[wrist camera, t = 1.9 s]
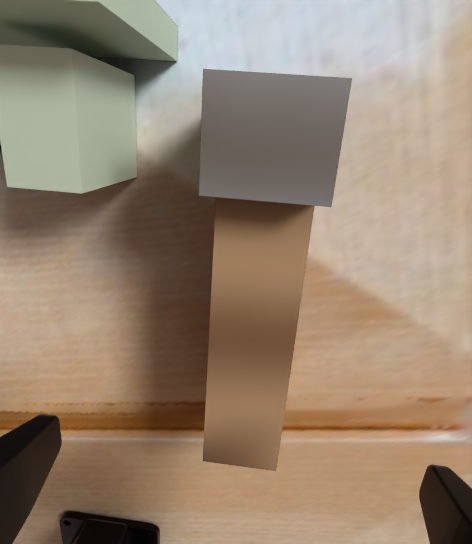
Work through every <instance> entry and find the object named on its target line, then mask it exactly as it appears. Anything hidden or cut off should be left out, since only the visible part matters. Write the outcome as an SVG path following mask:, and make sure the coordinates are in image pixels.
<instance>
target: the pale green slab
mask: <svg viewBox="0 0 472 544" xmlns="http://www.w3.org/2000/svg"><path fill="white" fill-rule="evenodd" d="M90 56H99V57H115V58H131V59H147V60H164V61H178V25H177V24H176V23H175V22H174V21H173V20H172V19H171V18H170V16H169V15H168V14H167V13H166V12H165V11H164V10H163V9H162V7H161V6H160V5H159V4H158V3H157V2H156V1H155V0H0V142H1V149H2V156H3V163H4V170H5V176H6V183H7V187H13V188H25V189H36V190H47V191H59V192H70V193H81V194H82V193H86V192H89V191H92V190H96V189H99V188H102V187H106V186H109V185H112V184H115V183H119V182H122V181H125V180H129V179H132V178H135V177H137V147H136V105H135V75H132V74H130V73H128V72H125V71H123V70H121V69H118V68H116V67H113V66H111V65H109V64H106V63H104V62H102V61H99V60H97V59H95V58H92V57H90Z"/></svg>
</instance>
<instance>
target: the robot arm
mask: <svg viewBox="0 0 472 544" xmlns="http://www.w3.org/2000/svg"><path fill="white" fill-rule="evenodd" d="M61 442H62V440H61V432H60V423H59V418H58V417H57V416H55V415H48V414H40V415H38V416H36V417H34V418H33V419H31V420H29V421H27V422H26V423H24V424H22V425H20V426H19V427H17V428H15V429H13V430H12V431H10V432H8V433H7V434H5V435H3V436H1V437H0V544H12V543H13V541H14V540H15V538H16V536H17V535H18V533H19V531H20V529H21V528H22V526H23V524H24V523H25V521H26V519H27V517H28V515H29V514H30V512H31V510H32V508H33V506H34V504H35V502H36V500H37V497H38V495H39V493H40V491H41V489H42V487H43V485H44V483H45V481H46V478H47V476H48V474H49V472H50V470H51V468H52V466H53V464H54V461H55V459H56V457H57V455H58V453H59V451H60V448H61ZM419 498H420V503H421V507H422V512H423V516H424V520H425V524H426V529H427V533H428V537H429V541H430V544H472V488H471V487H470V486H468V485H467V484H466V483H465V482H464V481H463V480H462V479H461V478H460V477H459V476H458V475H457V474H455V473H454V472H453V471H452V470H451V469H450V468H448V467H446V466H439V465H429V466H428V467H427V469H426V472H425V475H424V478H423V481H422V484H421V487H420V491H419ZM60 527H61V534H62V541H63V544H160V530H159V528H158V527H157V526H156V525H153V524H148V523H141V522H135V521H128V520H121V519H114V518H108V517H101V516H94V515H88V514H81V513H74V512H65V513H64V514H63V516H62V518H61V519H60Z"/></svg>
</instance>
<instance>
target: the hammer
mask: <svg viewBox="0 0 472 544" xmlns="http://www.w3.org/2000/svg"><path fill="white" fill-rule="evenodd" d="M351 81H352V78H338V77H322V76H306V75H290V74H275V73H259V72H243V71H227V70H211V69H203V87H202V117H201V146H200V176H199V196H209V197H216V206H215V226H214V246H213V266H212V286H211V306H210V326H209V346H208V366H207V386H206V406H205V426H204V446H203V461H206V462H213V463H221V464H228V465H236V466H243V467H250V468H258V469H265V470H273V471H276V468H277V461H278V454H279V447H280V440H281V434H282V427H283V420H284V413H285V406H286V399H287V392H288V385H289V378H290V371H291V364H292V357H293V351H294V344H295V337H296V330H297V323H298V316H299V309H300V302H301V295H302V288H303V281H304V274H305V268H306V261H307V254H308V247H309V240H310V233H311V226H312V219H313V212H314V206H325V207H331V206H332V199H333V193H334V187H335V181H336V175H337V168H338V162H339V156H340V150H341V143H342V137H343V131H344V125H345V119H346V112H347V106H348V100H349V94H350V87H351Z"/></svg>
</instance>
